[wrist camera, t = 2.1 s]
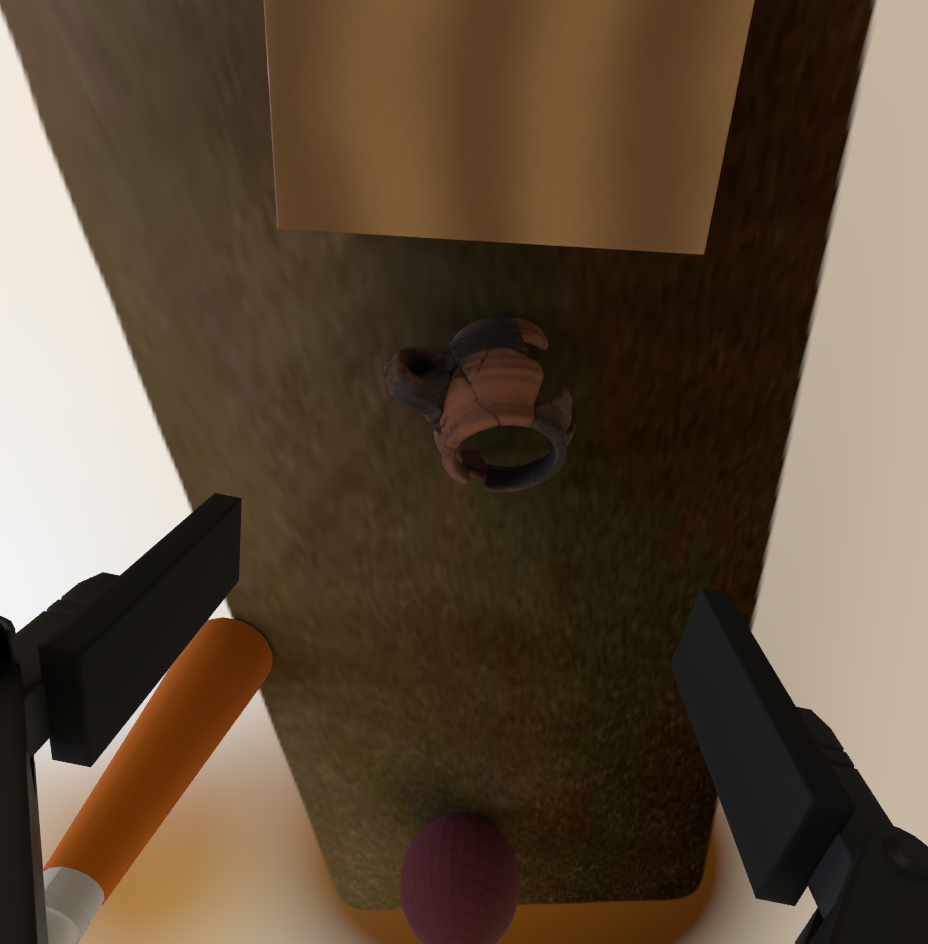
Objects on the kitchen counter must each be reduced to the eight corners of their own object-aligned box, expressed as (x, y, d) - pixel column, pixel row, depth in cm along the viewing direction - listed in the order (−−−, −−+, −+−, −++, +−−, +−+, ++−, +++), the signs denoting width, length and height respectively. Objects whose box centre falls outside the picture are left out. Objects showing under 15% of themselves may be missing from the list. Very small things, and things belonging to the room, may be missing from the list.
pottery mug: (590, 326, 37) (613, 423, 32) (527, 423, 44) (538, 515, 39) (404, 271, 33) (396, 370, 28) (368, 385, 40) (357, 481, 35)
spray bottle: (218, 566, 45) (-128, 956, 21) (290, 671, 48) (65, 1112, 24) (146, 595, 47) (-254, 989, 22) (221, 695, 50) (-57, 1131, 26)
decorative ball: (473, 876, 56) (465, 1003, 47) (389, 826, 55) (364, 947, 45) (541, 824, 53) (547, 949, 44) (454, 768, 51) (441, 886, 42)
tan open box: (705, -107, 28) (814, -299, 18) (647, 248, 34) (704, 254, 24) (338, -118, 29) (244, -306, 19) (345, 230, 35) (276, 228, 25)
